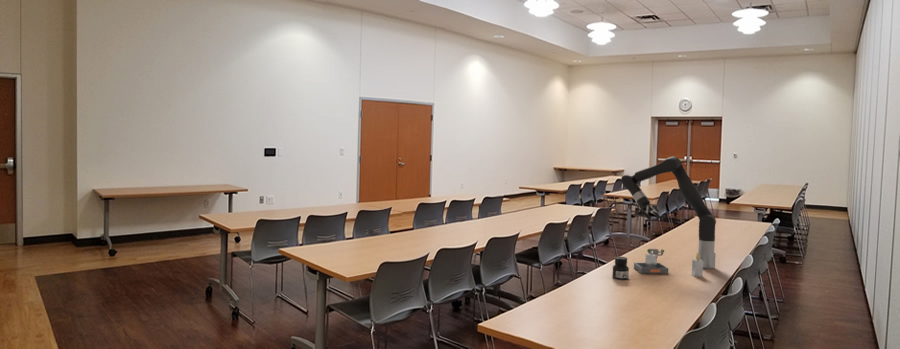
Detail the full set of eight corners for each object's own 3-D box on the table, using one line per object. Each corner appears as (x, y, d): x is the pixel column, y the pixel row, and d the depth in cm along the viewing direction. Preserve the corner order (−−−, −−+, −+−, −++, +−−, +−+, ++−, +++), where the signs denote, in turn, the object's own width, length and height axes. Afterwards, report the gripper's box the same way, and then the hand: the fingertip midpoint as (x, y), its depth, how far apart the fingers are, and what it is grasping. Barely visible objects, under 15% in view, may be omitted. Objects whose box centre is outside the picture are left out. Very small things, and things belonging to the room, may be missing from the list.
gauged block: (699, 274, 338) (700, 252, 337) (702, 276, 334) (703, 254, 333) (691, 274, 338) (692, 252, 337) (694, 276, 334) (696, 254, 333)
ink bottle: (617, 280, 322) (617, 259, 321) (608, 276, 331) (609, 256, 330) (632, 279, 325) (632, 259, 324) (623, 275, 333) (624, 255, 333)
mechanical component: (664, 265, 361) (664, 249, 361) (647, 265, 362) (648, 249, 361) (662, 264, 364) (663, 248, 364) (646, 264, 365) (647, 248, 364)
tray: (659, 268, 353) (659, 262, 353) (668, 274, 339) (668, 268, 338) (633, 268, 353) (634, 262, 353) (641, 273, 339) (641, 268, 338)
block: (650, 269, 349) (650, 253, 348) (656, 270, 345) (656, 255, 345) (645, 269, 347) (645, 254, 346) (651, 271, 343) (651, 255, 342)
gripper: (637, 196, 370) (650, 216, 361) (652, 195, 377) (665, 214, 368) (630, 203, 375) (643, 223, 366) (645, 202, 382) (658, 221, 373)
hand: (654, 218), depth 367 cm, fingers open, 8 cm apart
